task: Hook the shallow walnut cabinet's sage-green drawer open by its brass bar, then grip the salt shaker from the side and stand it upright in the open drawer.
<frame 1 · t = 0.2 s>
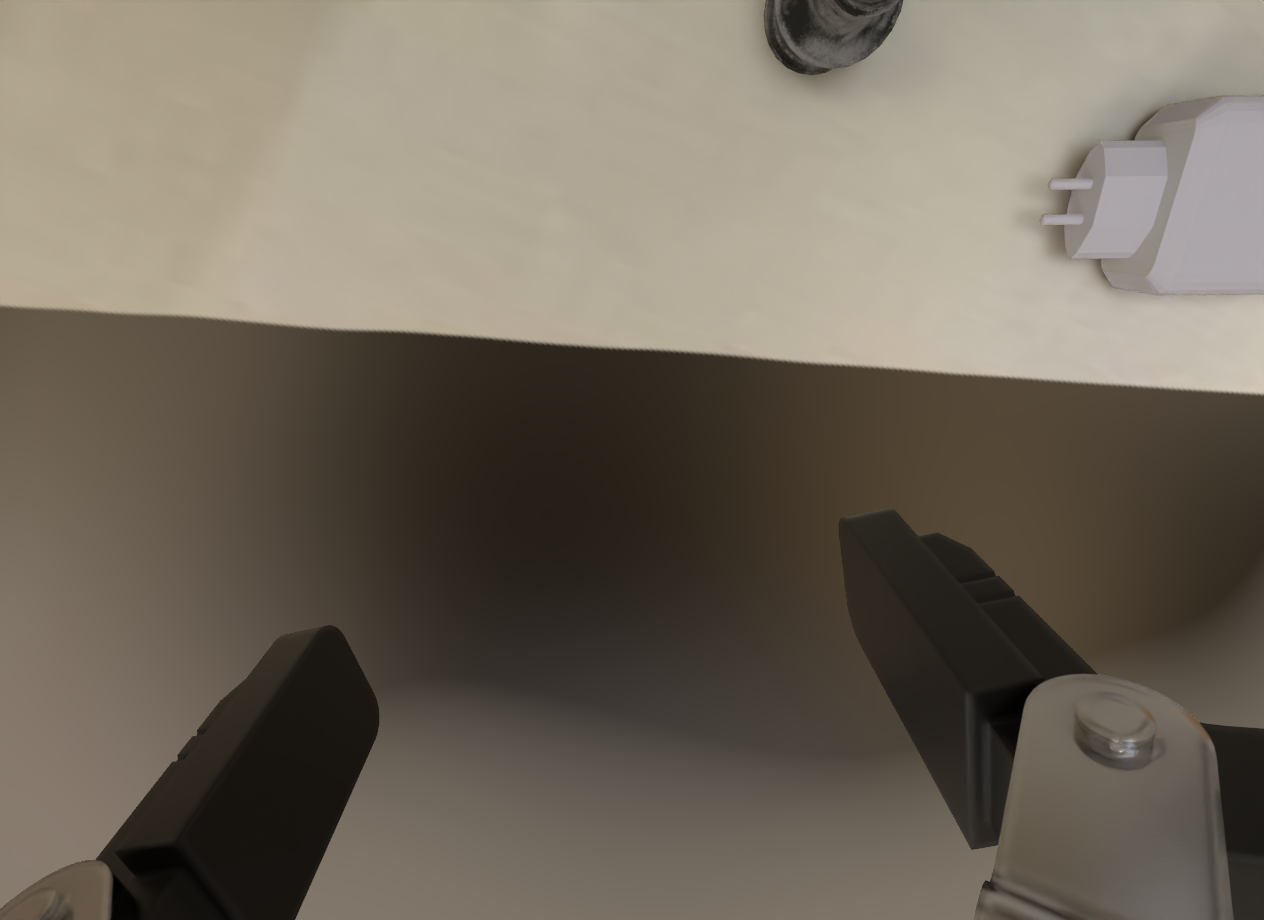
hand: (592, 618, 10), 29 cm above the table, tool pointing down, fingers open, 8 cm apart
charger: (1146, 200, 35), on the table
salt shaker: (815, 14, 31), on the table
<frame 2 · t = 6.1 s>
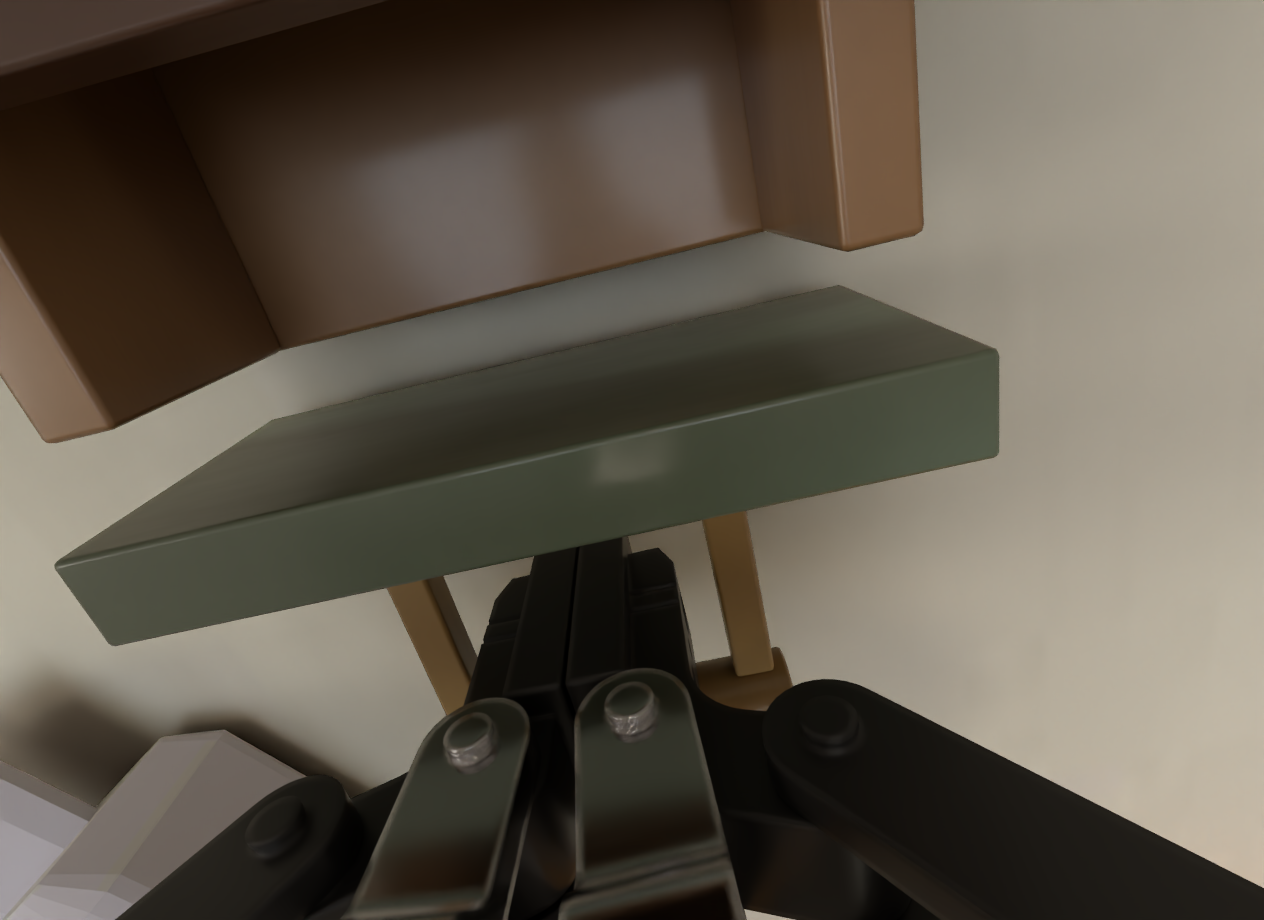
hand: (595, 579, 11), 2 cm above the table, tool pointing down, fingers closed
drawer: (478, 236, 8), point 3 cm above the table, slide at 3.9 cm, touching gripper
charger: (193, 824, 17), on the table
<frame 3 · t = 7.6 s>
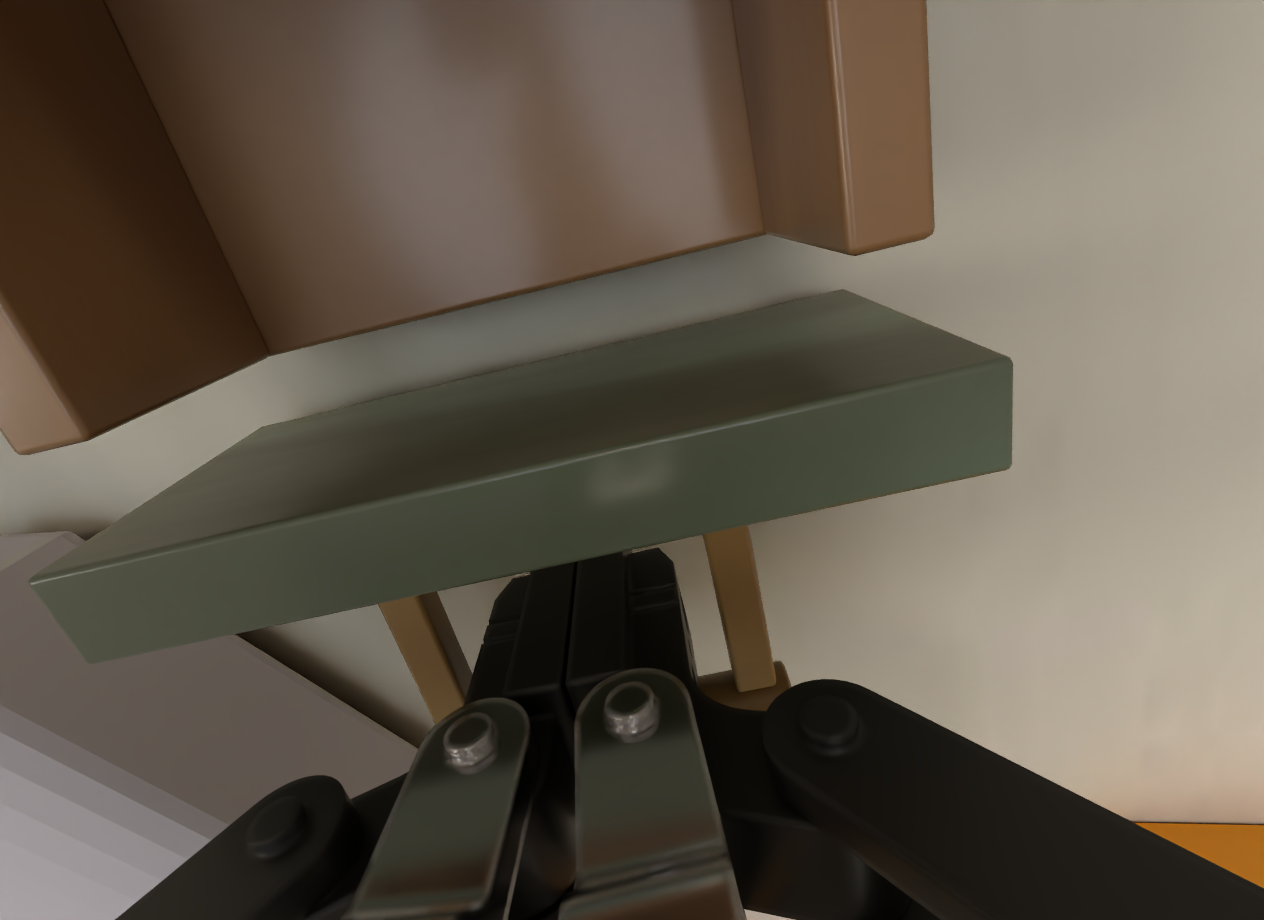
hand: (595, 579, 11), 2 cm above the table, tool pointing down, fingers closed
drawer: (471, 239, 7), point 3 cm above the table, slide at 9.5 cm
charger: (59, 672, 14), on the table
orange juice: (1143, 904, 18), on the table
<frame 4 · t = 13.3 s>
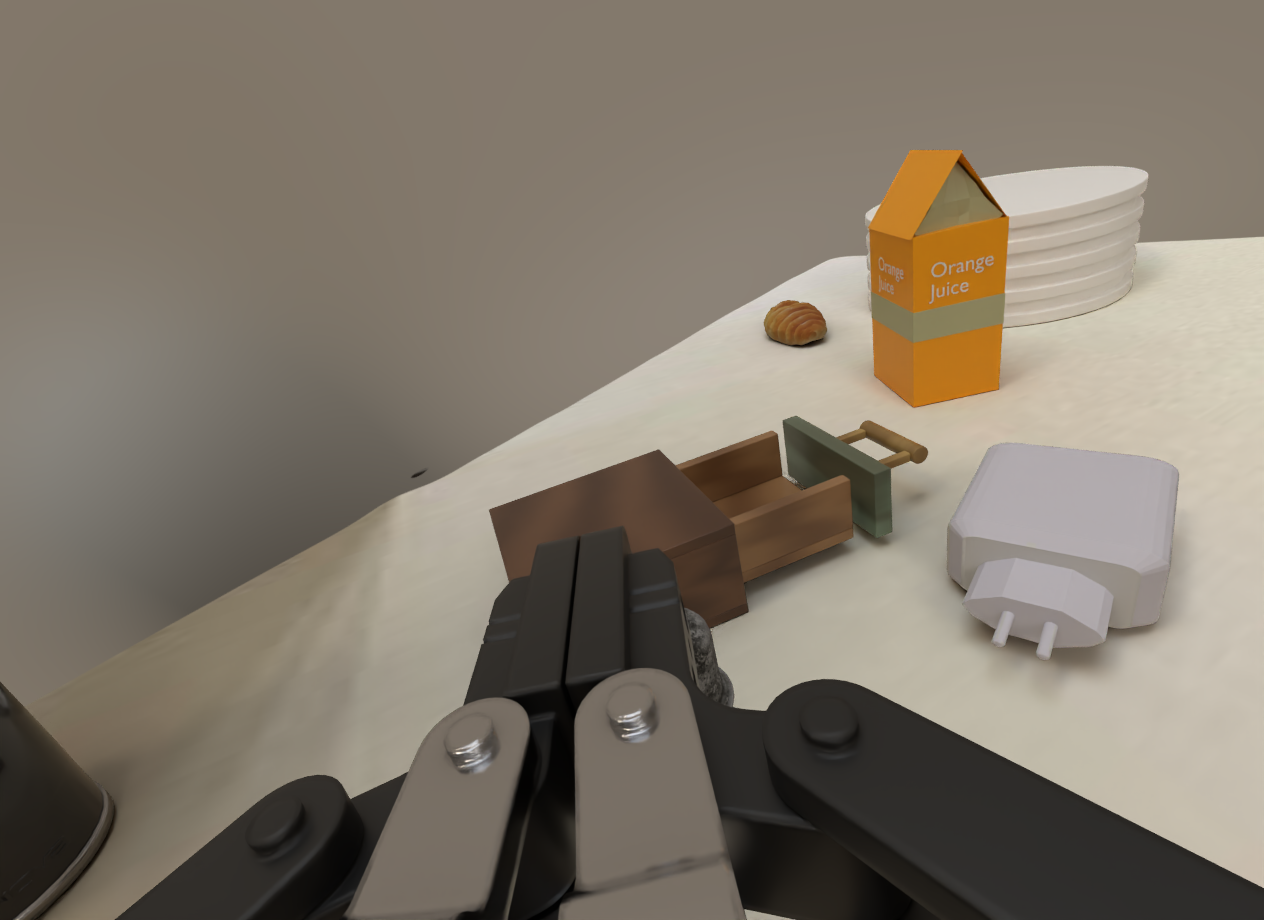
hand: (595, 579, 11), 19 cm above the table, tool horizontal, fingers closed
drawer: (798, 485, 42), point 3 cm above the table, slide at 9.5 cm
charger: (1045, 593, 33), on the table
plate stack: (988, 293, 77), on the table
cabinet: (622, 596, 40), on the table
salt shaker: (716, 819, 26), on the table
pastry: (798, 336, 78), on the table
orange juice: (931, 383, 59), on the table
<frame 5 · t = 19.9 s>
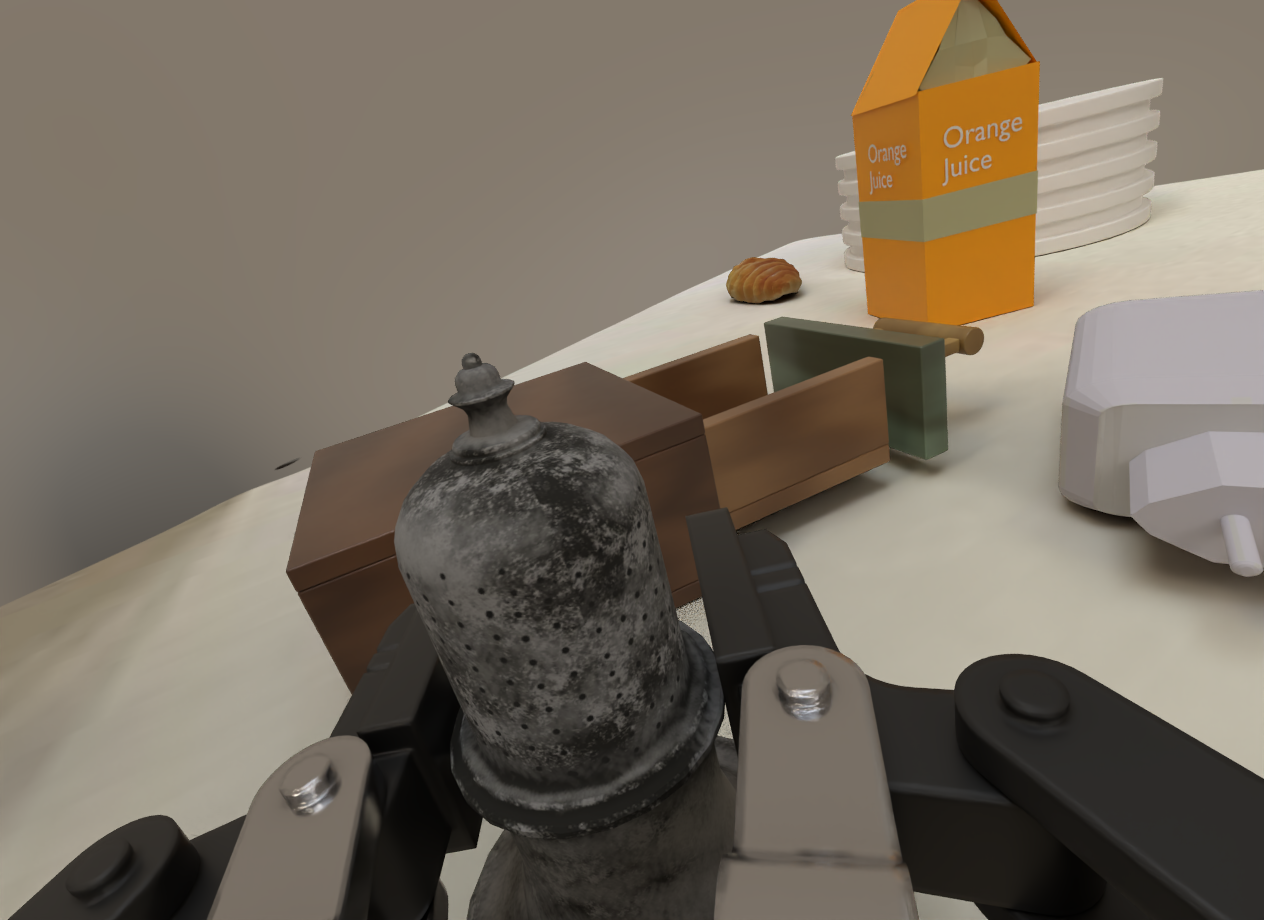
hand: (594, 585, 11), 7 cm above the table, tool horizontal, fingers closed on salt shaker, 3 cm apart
drawer: (796, 397, 28), point 3 cm above the table, slide at 9.5 cm
charger: (1236, 509, 20), on the table
plate stack: (981, 240, 67), on the table
cabinet: (530, 578, 25), on the table
pastry: (767, 297, 66), on the table
orange juice: (943, 312, 46), on the table
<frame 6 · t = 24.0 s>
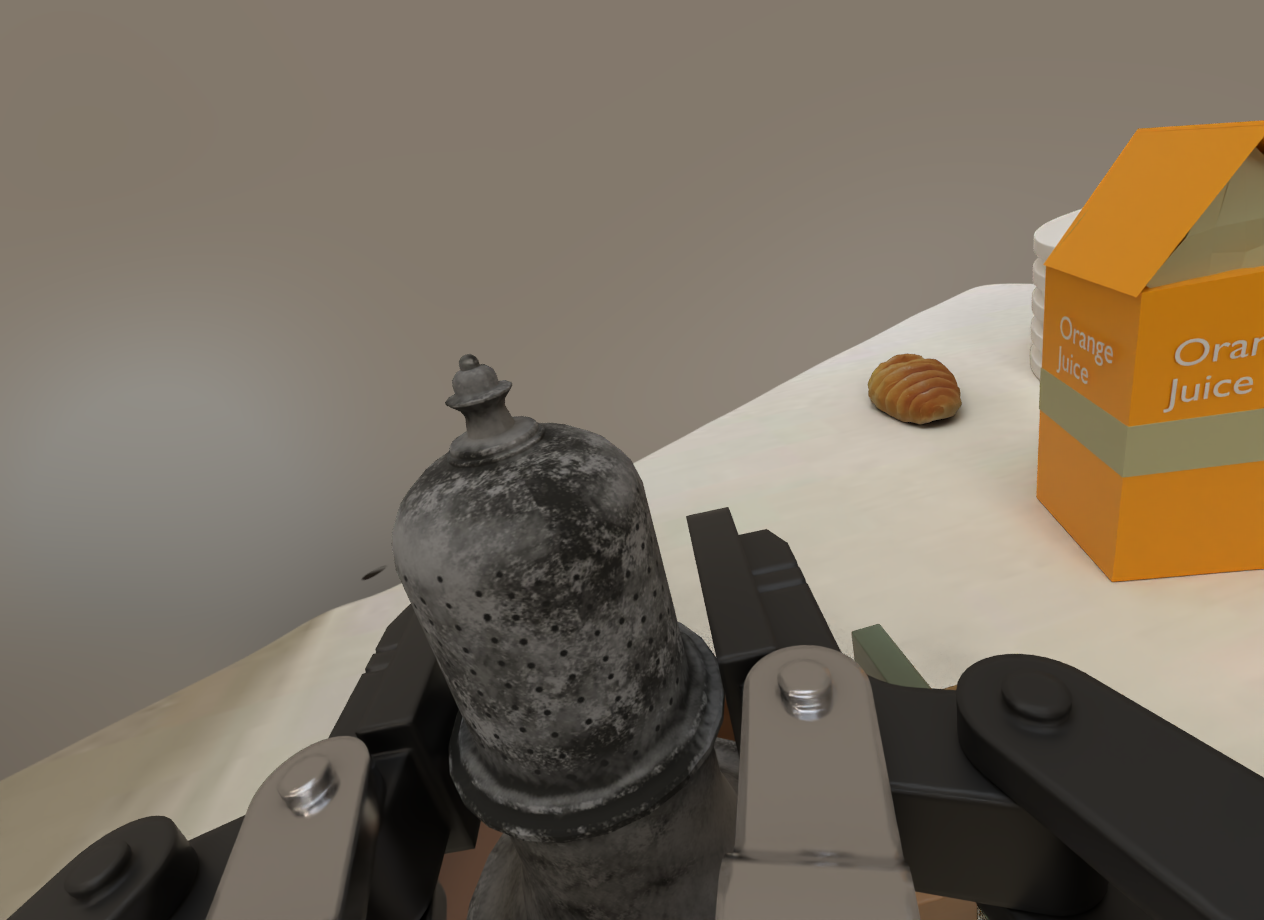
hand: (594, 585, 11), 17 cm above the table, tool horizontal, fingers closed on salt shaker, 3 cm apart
drawer: (866, 798, 21), point 3 cm above the table, slide at 9.5 cm
plate stack: (1236, 355, 50), on the table
pastry: (917, 406, 55), on the table
orange juice: (1145, 530, 34), on the table
when the fingers open (9 cm above the table, at t = 28.0 s): salt shaker stays where it is, resting on drawer.
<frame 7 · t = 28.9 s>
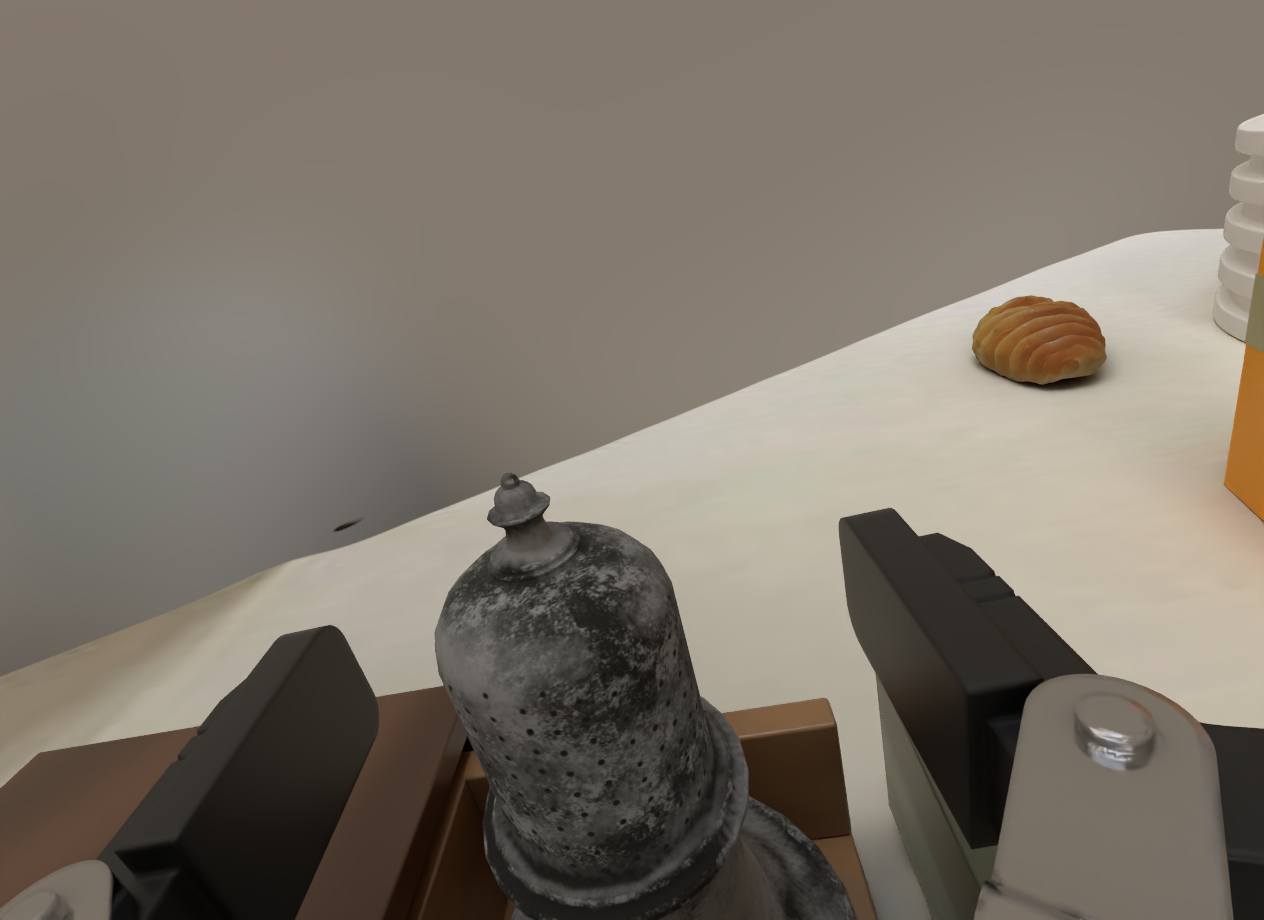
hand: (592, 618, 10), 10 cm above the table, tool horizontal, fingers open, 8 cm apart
pastry: (1040, 365, 41), on the table
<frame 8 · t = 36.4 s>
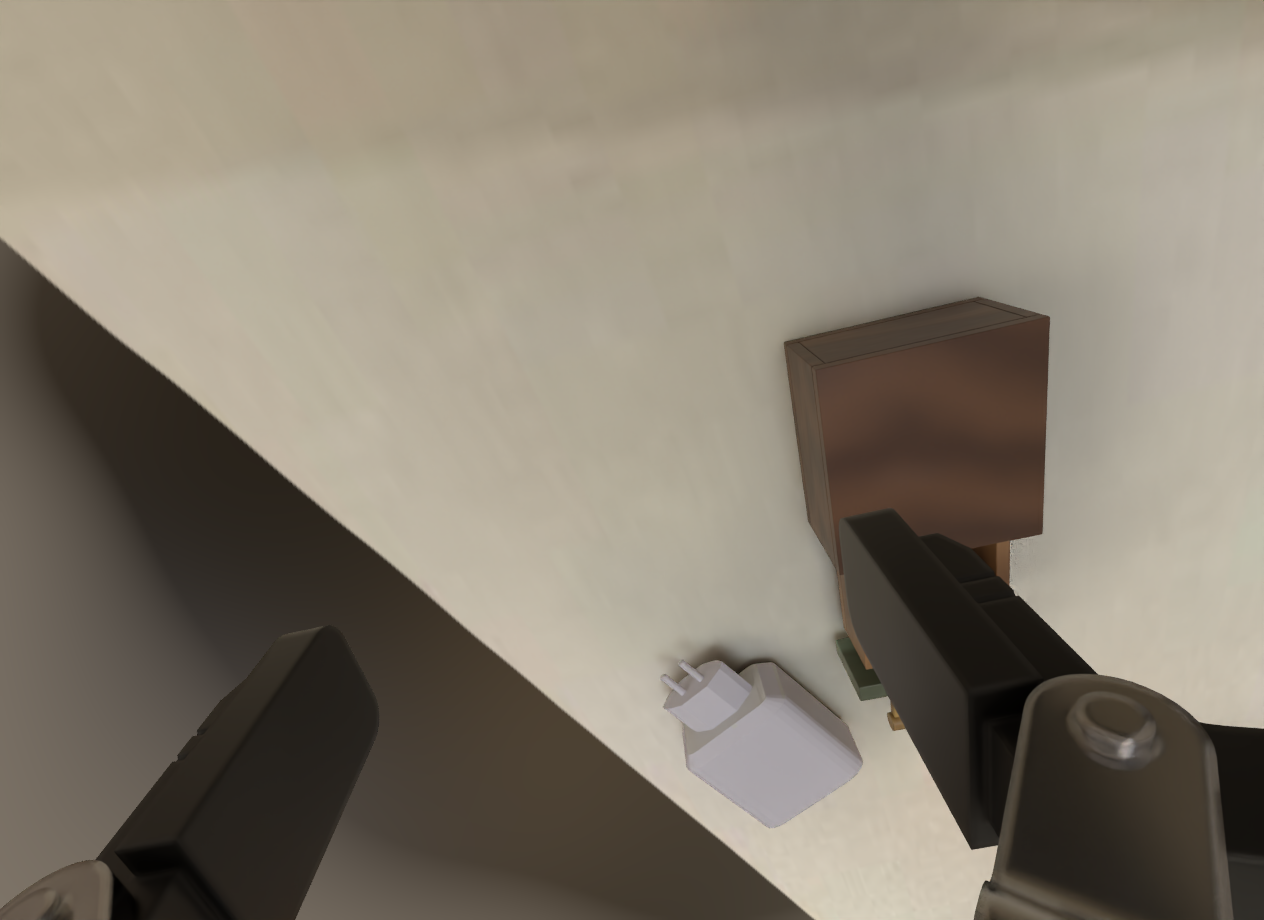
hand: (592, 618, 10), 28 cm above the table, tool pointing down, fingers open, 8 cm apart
drawer: (920, 623, 41), point 3 cm above the table, slide at 9.5 cm, touching salt shaker
charger: (736, 698, 47), on the table
cabinet: (887, 417, 39), on the table
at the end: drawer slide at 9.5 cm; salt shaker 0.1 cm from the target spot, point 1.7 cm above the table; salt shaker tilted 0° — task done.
